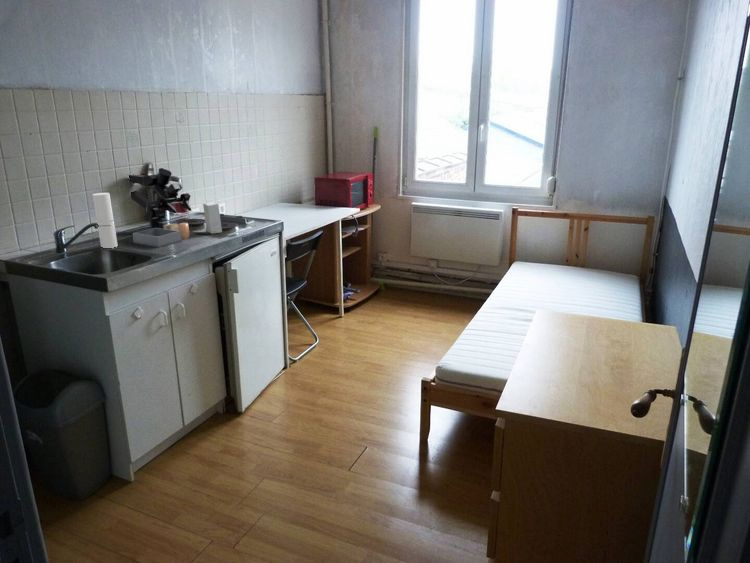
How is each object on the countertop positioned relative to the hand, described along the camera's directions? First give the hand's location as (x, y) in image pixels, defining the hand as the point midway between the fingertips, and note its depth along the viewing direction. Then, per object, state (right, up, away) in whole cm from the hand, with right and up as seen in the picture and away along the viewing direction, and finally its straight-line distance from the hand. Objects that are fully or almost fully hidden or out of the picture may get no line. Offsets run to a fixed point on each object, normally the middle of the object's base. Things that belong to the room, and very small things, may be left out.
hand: (183, 211), depth 281 cm
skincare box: (+12, -9, +12) cm, 19 cm away
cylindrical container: (-29, -19, -16) cm, 38 cm away
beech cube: (-8, -11, +8) cm, 16 cm away
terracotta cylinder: (0, -13, +1) cm, 13 cm away
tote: (-10, -16, -8) cm, 20 cm away
